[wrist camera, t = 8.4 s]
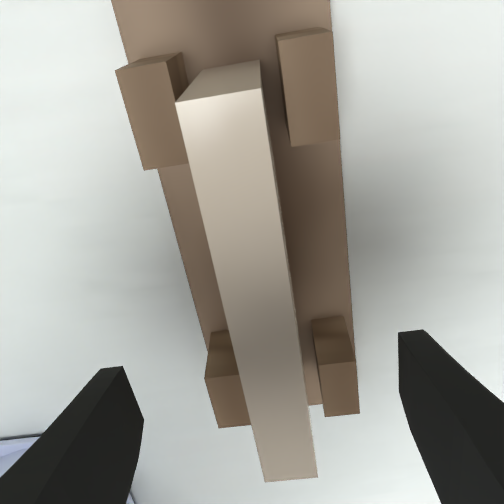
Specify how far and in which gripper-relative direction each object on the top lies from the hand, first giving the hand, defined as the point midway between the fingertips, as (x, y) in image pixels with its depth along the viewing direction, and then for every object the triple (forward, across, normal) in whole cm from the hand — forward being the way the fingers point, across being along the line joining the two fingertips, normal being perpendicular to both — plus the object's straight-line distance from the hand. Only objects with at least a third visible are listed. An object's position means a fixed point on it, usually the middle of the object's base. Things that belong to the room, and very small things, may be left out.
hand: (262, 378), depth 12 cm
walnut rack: (+9, 0, 0) cm, 9 cm away
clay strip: (+8, 0, 0) cm, 8 cm away
